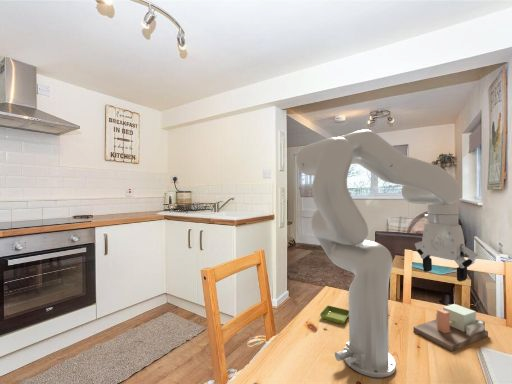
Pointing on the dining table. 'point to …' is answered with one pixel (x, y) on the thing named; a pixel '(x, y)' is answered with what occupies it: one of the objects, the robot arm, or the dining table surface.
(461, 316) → the joined block piece
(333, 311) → the green tray
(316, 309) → the dining table surface
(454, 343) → the shelf
